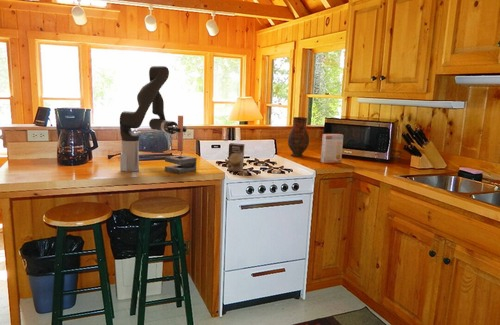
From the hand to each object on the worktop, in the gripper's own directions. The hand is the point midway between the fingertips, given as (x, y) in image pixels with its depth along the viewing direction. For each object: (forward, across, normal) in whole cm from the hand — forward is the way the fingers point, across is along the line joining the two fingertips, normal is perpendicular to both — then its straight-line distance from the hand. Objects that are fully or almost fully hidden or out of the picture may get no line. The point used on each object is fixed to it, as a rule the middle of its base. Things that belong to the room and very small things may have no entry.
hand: (182, 130), depth 212 cm
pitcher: (-16, +108, +25) cm, 112 cm away
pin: (-3, 0, +12) cm, 12 cm away
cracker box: (+16, +110, +25) cm, 114 cm away
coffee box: (+8, +32, +24) cm, 41 cm away
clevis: (-3, 0, +24) cm, 24 cm away
